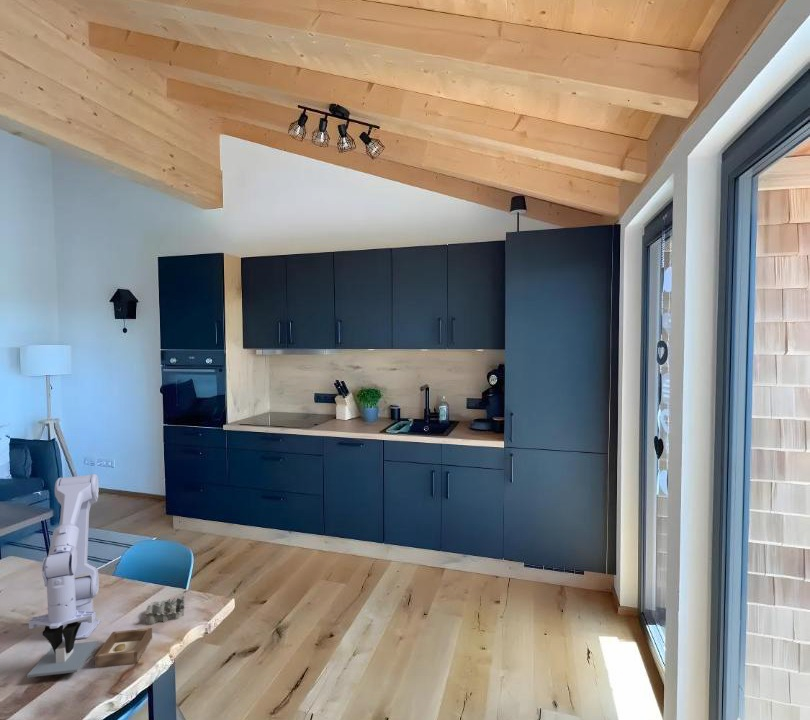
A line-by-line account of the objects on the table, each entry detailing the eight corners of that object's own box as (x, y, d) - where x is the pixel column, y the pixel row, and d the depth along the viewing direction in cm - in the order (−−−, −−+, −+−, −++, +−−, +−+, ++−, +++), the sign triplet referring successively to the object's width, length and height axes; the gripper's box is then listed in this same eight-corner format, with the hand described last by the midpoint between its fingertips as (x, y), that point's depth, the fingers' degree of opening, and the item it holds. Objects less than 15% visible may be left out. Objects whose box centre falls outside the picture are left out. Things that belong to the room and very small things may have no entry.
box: (95, 667, 118) (94, 656, 118) (113, 642, 128) (112, 631, 128) (137, 663, 120) (137, 652, 120) (152, 638, 130) (151, 628, 130)
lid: (27, 677, 113) (26, 661, 113) (53, 647, 124) (53, 633, 123) (77, 671, 114) (76, 656, 114) (98, 643, 125) (98, 628, 125)
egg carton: (143, 628, 135) (142, 614, 135) (147, 613, 142) (147, 600, 142) (184, 619, 139) (183, 606, 138) (186, 605, 146) (185, 593, 146)
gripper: (19, 611, 113) (22, 665, 114) (84, 605, 115) (87, 658, 116) (37, 595, 120) (40, 646, 121) (98, 590, 122) (101, 640, 123)
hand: (64, 651), depth 119 cm, fingers closed on lid, 2 cm apart
